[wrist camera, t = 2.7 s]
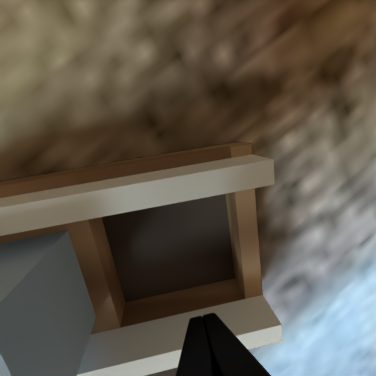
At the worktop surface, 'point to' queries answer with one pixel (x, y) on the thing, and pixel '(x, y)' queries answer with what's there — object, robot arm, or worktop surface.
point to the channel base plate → (159, 243)
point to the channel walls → (136, 200)
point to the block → (43, 307)
